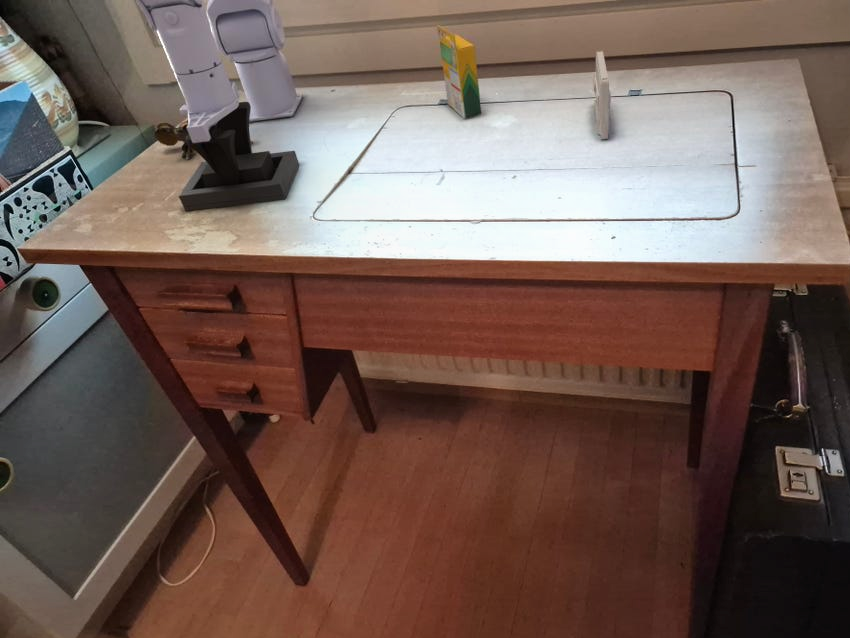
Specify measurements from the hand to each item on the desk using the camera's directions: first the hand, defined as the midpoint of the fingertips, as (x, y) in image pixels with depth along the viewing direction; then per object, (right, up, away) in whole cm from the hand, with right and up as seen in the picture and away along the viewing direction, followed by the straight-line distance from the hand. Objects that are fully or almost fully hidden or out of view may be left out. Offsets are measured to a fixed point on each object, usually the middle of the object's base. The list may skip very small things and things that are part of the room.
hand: (238, 172), depth 87 cm
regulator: (-10, +8, +14) cm, 19 cm away
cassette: (+49, +8, +4) cm, 50 cm away
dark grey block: (0, -1, +1) cm, 2 cm away
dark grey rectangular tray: (0, -2, +1) cm, 2 cm away
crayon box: (+30, +13, +13) cm, 35 cm away
